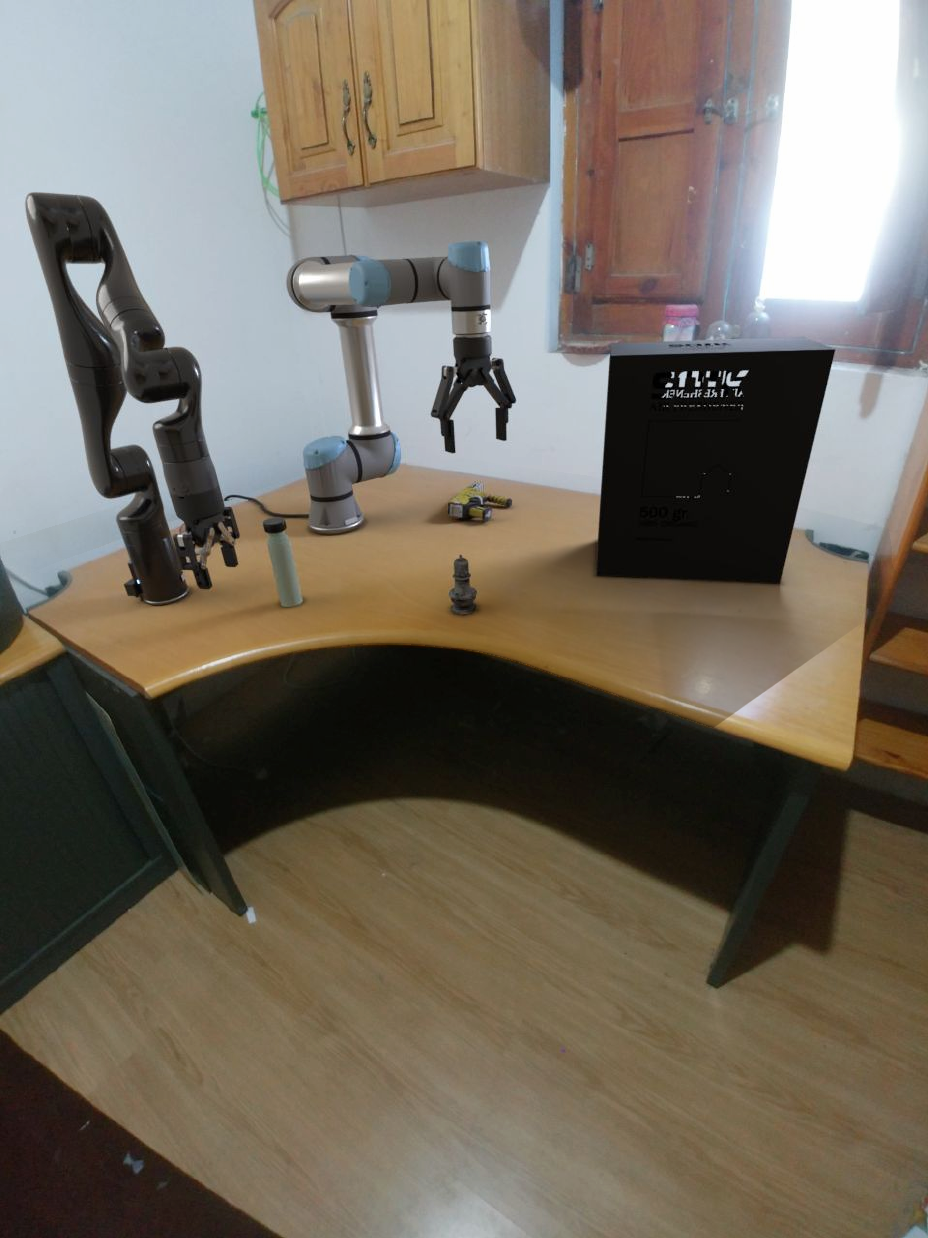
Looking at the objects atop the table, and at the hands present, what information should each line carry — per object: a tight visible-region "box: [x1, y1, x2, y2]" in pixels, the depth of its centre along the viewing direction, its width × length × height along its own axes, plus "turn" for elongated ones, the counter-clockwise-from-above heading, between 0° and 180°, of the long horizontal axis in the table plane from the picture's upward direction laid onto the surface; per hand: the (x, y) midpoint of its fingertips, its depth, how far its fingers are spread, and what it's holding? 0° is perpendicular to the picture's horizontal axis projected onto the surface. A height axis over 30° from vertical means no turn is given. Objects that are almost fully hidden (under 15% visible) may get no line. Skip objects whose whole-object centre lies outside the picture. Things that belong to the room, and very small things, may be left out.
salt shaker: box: [448, 554, 478, 615], centre depth 121 cm, size 6×6×12 cm
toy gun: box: [446, 480, 513, 523], centre depth 174 cm, size 5×24×15 cm
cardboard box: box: [595, 336, 836, 584], centre depth 127 cm, size 38×20×45 cm, turn 78°
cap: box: [262, 516, 288, 534], centre depth 122 cm, size 4×4×2 cm
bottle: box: [266, 530, 303, 608], centre depth 126 cm, size 5×5×18 cm
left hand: (219, 576), depth 104 cm, fingers open, 8 cm apart
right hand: (476, 445), depth 127 cm, fingers open, 13 cm apart
